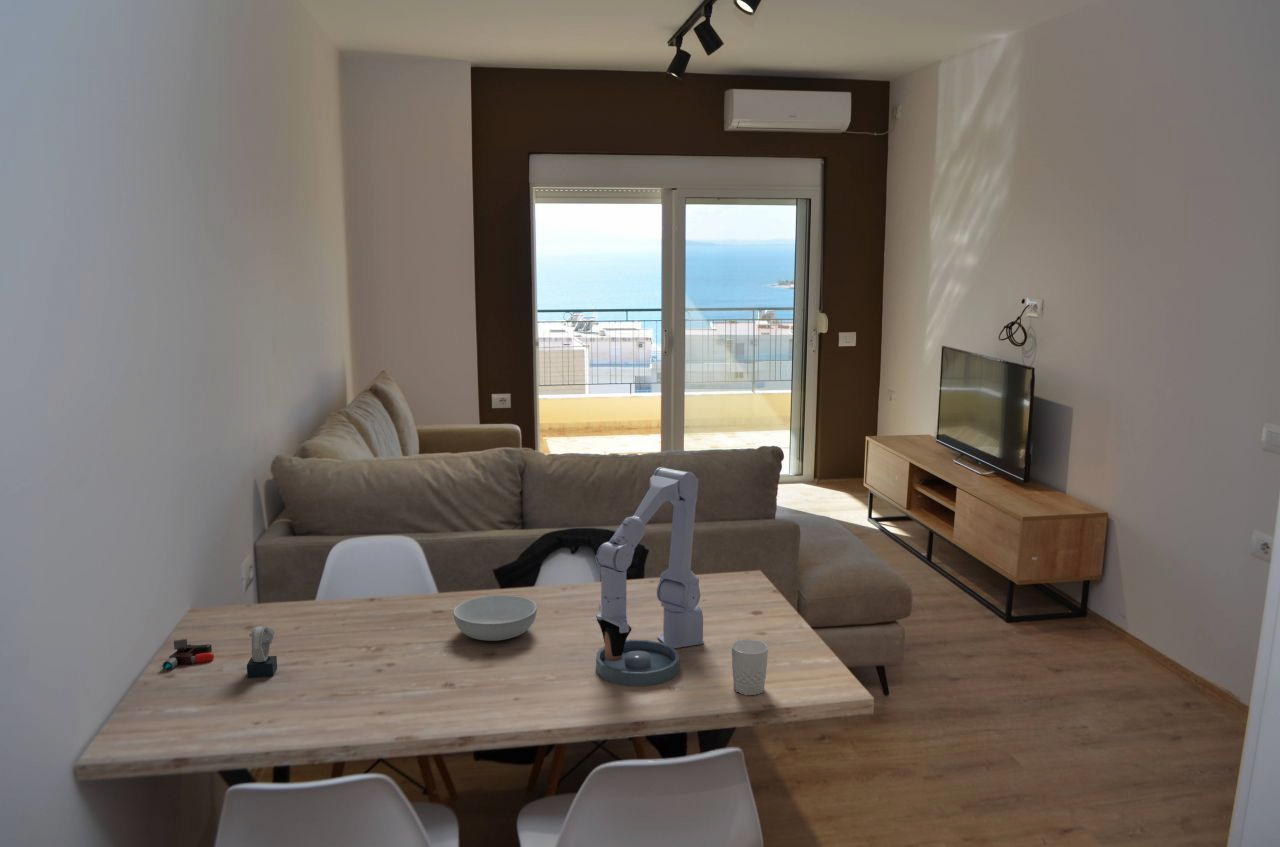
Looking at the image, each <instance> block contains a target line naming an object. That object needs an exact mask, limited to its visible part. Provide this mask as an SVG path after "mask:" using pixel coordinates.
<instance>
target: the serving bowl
mask: <svg viewBox="0 0 1280 847" xmlns="http://www.w3.org/2000/svg"><path fill="white" fill-rule="evenodd" d="M537 612H538V605H537V604H536V602H534V601H533V600H531V599H529V598H528V597H527V598H526V597H524V596H518V595H511V594H508V595H507V594H496V595H484V596H479V597H476V598H470V599H468V600H465V601H463V602H461V603H459V604H458V605H456V606H455V608H454V609H453V614H452V615H453V619H454V622H455V624H456V625H455V626H456V627H457V628H458V629H459V631H460V632H461V633H463V634H464V635H466V636H467V637H470V638H471V639H474V640H480V641H489V642H492V641H496V642H497V641H504V640H509V639H512V638H515V637H518V636H520V635H523V634H524V633H525V632H527V631H528V630H529V629H530V627H532V625H533V624H534V622H535V620H536V617H537Z"/></svg>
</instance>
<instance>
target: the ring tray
mask: <svg viewBox="0 0 1280 847" xmlns="http://www.w3.org/2000/svg"><path fill="white" fill-rule="evenodd" d="M679 653H680V652H678V651H677V650H676V648H673V647H671V646H668V645H666V644H664V643H663V642H661V641H654V640H648V639H626V642H625V645H624V649H623V653H622V659H621V660H619V661H608V660H606V659H605V645H604V646H603V647H601V648H600V649H599V650H598V651H597V652H596V656H595V657H596V658H595V671H596V672H597V674H598V675H599V676H600V678H601V679H603V680H605V679H606V681H608V682H609V683H612V684H617V685H621V686H626V687H627V686H628V687H648V686H655V685H659V684H660V683H661V684H663V683H666V682H667V681H671V680H673V679H674V678H675V677H676V676H677V674H679V673H680V671H679V670H680V656H679V655H680V654H679ZM674 676H675V677H674ZM654 684H655V685H654Z"/></svg>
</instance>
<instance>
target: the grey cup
mask: <svg viewBox="0 0 1280 847" xmlns="http://www.w3.org/2000/svg"><path fill="white" fill-rule="evenodd" d="M768 650H769V646H768V645H767V644H766V643H765V642H763V641H761V640H756V639H741V640H740V639H739V640H737V641H734V642H733V643H732V644H731V654H732V655H731V664H732V678H733V690H734V691H735V690H736V691H735V692H736V693H737V692H739V693H741V694H740V695H742V694H746V695H745V696H747V695H754V696H757V695H756V694H758V695H761V694H762V693H764V692H765V683H766V678H767V667H768V654H769V653H768V652H769V651H768ZM739 693H738V694H739ZM760 693H761V694H760Z"/></svg>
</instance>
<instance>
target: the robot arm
mask: <svg viewBox="0 0 1280 847" xmlns="http://www.w3.org/2000/svg"><path fill="white" fill-rule="evenodd" d="M698 490H699V479H698V478H697V477H696V475H695V474H694V472H692V471H683V470H678V469H673V468H667V467H665V466H660V467H657V468H656V469H655V470H654V472H653V473H652V476H650V478H649V489H648V490H647V492H646V494H645V495H644V498H643V499H642V500H641V502H640V504H639V506H638V507H637V509H636V511H635V513H634V514H633V516H627V517H625V518H624V519H623V521H622V522H621V523H620V525H619V527H618V528H617V529H616V530H615V532H614V534H613V535H612V536H611V538H610V539H609V541H606V542H603V543H602V544H601V545H599V547H598V549H597V551H596V555H595V557H594V559H595V562H596V564H597V566H598V572H599V574H600V580H601V581H600V582H601V583H600V589H601V590H600V595H601V596H600V599H601V600H600V603H599V604H598V606H599V607H598V609H599V612H600V613H596V616H595V617H596V621H597V623H598V625H599V627H600V628H599V629H600V630H601V633H602V638H603V643H604V644H605V631H607V633H608V635H609V639H610V644H611V652H612V655H613V657H615V656H621V655H622V653H623V649H624V645H625V642H626V640H628V636H629V635H630V633H631V632H632V627H631V626H630V623H629V622H628V612H627V570H628V569H629V567H630V566H631V565H632V562H633V559H634V558H633V557H634V554H635V552H636V551H635V549H636V547H637V546H638V545H639V543H640V542H641V540H642V539H643V538H644V536H645V535H646V533H647V528H646V524H647V523H649V520H651V518H652V517H653V516H654V515H655V513H657V512H658V510H659V509H660V507H661V506H662V505H663V504H664V503H666V502H670V503H671V504H672V506H673V510H672V522H671V534H670V549H669V558H668V559H669V560H668V567H667V569H666V570H664V571H663V572H662V573H660V578H659V582H658V584H657V587H656V597H657V599H658V601H659V602H660V603H661V604H660V606H661V607H663V619H662V620H663V627H662V628H663V629H662V630H663V632H662V634H659V635H657V637H656V638H657V639H658V640H659V642H661V643H663V644H666V645H668V646H671V647H673V648H674V649H678V648H679V649H680V648H685V647H692V646H693V647H694V646H698V645H704V644H705V641H704V615H703V611H702V609H701V607H700V605H699V603H700V600H701V590H700V579H699V577H697V575H696V574H695V573H694V572H693V571H692V569H691V566H692V556H693V555H692V553H693V544H694V542H693V541H694V532H695V531H694V528H695V518H696V505H697V501H698V492H699V491H698Z"/></svg>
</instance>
